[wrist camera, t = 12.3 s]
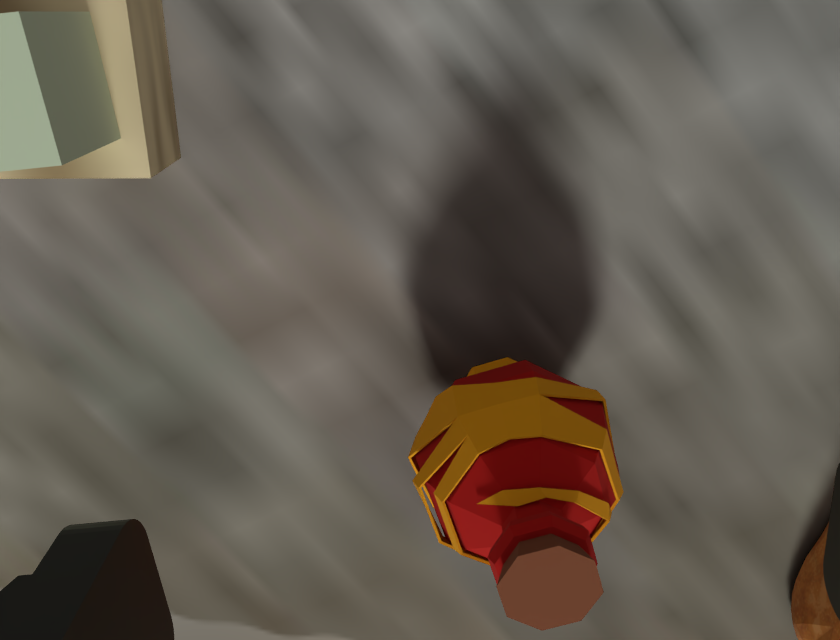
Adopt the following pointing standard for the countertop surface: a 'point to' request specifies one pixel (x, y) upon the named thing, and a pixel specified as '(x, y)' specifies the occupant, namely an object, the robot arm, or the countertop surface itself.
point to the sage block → (51, 90)
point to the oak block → (122, 89)
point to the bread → (814, 599)
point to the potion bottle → (522, 484)
